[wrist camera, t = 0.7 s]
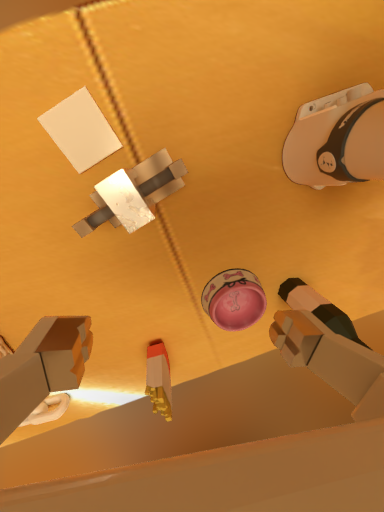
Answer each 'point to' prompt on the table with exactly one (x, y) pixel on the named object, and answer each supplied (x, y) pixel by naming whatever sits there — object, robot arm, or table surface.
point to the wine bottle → (318, 308)
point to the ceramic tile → (80, 130)
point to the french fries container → (159, 380)
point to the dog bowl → (234, 299)
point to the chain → (42, 412)
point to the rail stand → (149, 181)
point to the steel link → (127, 199)
